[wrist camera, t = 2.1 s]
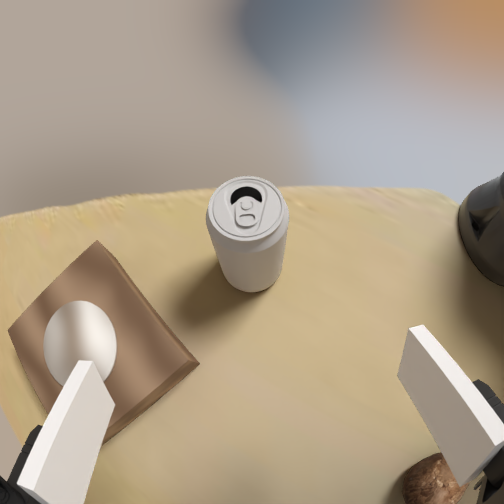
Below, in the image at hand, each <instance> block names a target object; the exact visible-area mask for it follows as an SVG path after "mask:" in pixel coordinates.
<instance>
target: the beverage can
mask: <svg viewBox="0 0 504 504" xmlns="http://www.w3.org/2000/svg"><path fill="white" fill-rule="evenodd" d="M288 223H289V210H288V207H287V204H286V202H285V200H284V198H283V196H282V194H281V192H280V191H279V189H278V188H277V187H276V186H275V185H274V184H272V183H271V182H269V181H267V180H265V179H262V178H259V177H254V176H241V177H236V178H233V179H230V180H228V181H226V182H225V183H223V184H222V185H220V186H219V187H218V188H217V189H216V190H215V192H214V193H213V195H212V196H211V198H210V201H209V206H208V209H207V213H206V224H207V228H208V231H209V234H210V237H211V240H212V243H213V246H214V249H215V251H216V254H217V257H218V260H219V263H220V266H221V269H222V271H223V274H224V276H225V278H226V280H227V281H228V282H229V283H230V284H231V285H232V286H233V287H235V288H237V289H239V290H241V291H245V292H258V291H262V290H264V289H266V288H268V287H270V286H271V285H272V284H273V283H274V282H275V281H276V280H277V279H278V277H279V275H280V273H281V269H282V263H283V257H284V250H285V243H286V237H287V230H288Z"/></svg>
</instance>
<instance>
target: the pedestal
mask: <svg viewBox="0 0 504 504" xmlns="http://www.w3.org/2000/svg"><path fill="white" fill-rule="evenodd" d="M8 333H9V335H10V338H11V340H12V343H13V345H14V347H15V350H16V352H17V354H18V357H19V359H20V361H21V363H22V365H23V368H24V370H25V372H26V374H27V376H28V378H29V380H30V382H31V384H32V386H33V388H34V390H35V392H36V393H37V395H38V397H39V399H40V401H41V403H42V404H43V406H44V408H45V410H46V411H47V413H48V415H49V413H50V411H51V409H52V407H53V406H54V404H55V402H56V400H57V398H58V396H59V394H60V392H61V391H62V389H63V387H64V385H65V383H66V382H67V380H68V378H69V376H70V375H71V373H72V371H73V369H74V368H75V366H76V364H77V362H78V361H79V360H83V361H93V362H94V364H95V366H96V368H97V370H98V372H99V374H100V377H101V379H102V381H103V383H104V384H105V386H106V388H107V390H108V392H109V394H110V396H111V398H112V400H113V402H114V403H115V407H114V410H113V412H112V415H111V418H110V421H109V424H108V427H107V430H106V432H105V435H104V438H103V441H102V444H101V446H102V445H103V444H104V443H106V442H107V441H108V440H109V439H111V438H112V437H113V436H114V435H116V434H117V433H118V432H120V431H121V430H122V429H123V428H124V427H126V426H127V425H128V424H129V423H131V422H132V421H133V420H134V419H136V418H137V417H138V416H139V415H140V414H142V413H143V412H144V411H145V410H147V409H148V408H149V407H150V406H151V405H153V404H154V403H155V402H156V401H157V400H159V399H160V398H161V397H162V396H163V395H164V394H166V393H167V392H168V391H169V390H170V389H171V388H173V387H174V386H175V385H176V384H177V383H178V382H180V381H181V380H182V379H183V378H184V377H185V376H187V375H188V374H189V373H190V372H191V371H192V370H193V369H195V368H196V367H197V366H198V365H199V364H200V363H199V362H198V361H197V360H196V359H195V357H194V356H193V355H192V354H191V353H190V352H189V351H188V349H187V348H186V347H185V346H184V345H183V344H182V343H181V341H180V340H179V339H178V338H177V337H176V335H175V334H174V333H173V332H172V331H171V329H170V328H169V327H168V326H167V325H166V323H165V322H164V321H163V320H162V319H161V317H160V316H159V315H158V314H157V312H156V311H155V310H154V309H153V307H152V306H151V305H150V303H149V302H148V301H147V300H146V298H145V297H144V296H143V294H142V293H141V292H140V290H139V289H138V288H137V287H136V285H135V284H134V283H133V281H132V280H131V278H130V277H129V276H128V274H127V273H126V272H125V270H124V269H123V267H122V266H121V265H120V263H119V262H118V260H117V259H116V258H115V257H114V256H113V255H112V254H111V253H110V252H109V251H108V250H107V249H106V248H105V247H104V246H103V245H102V244H101V243H100V242H99V241H98V240H96V241H95V242H94V243H93V244H92V245H91V246H90V247H89V248H88V249H86V250H85V251H84V252H83V253H82V254H81V255H80V256H79V257H78V258H77V259H76V260H75V261H74V262H72V263H71V264H70V265H69V266H68V267H67V268H66V269H65V270H64V271H63V272H62V273H61V274H60V275H59V276H58V277H57V278H56V279H55V280H54V281H53V282H52V283H51V284H50V285H49V286H48V287H47V288H46V289H45V290H44V291H43V292H42V293H41V294H40V295H39V296H38V297H37V298H36V299H35V300H34V302H33V303H32V304H31V305H30V306H29V307H28V308H27V309H26V310H25V311H24V312H23V313H22V315H21V316H20V317H19V318H18V319H17V320H16V321H15V322H14V323H13V325H12V326H11V327H10V328H9V329H8Z"/></svg>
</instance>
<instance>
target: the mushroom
mask: <svg viewBox="0 0 504 504" xmlns="http://www.w3.org/2000/svg"><path fill="white" fill-rule="evenodd" d="M468 485H469V482H468V483H466V484H464V485H463V486H461V487H459V485H458V483H457V481H456V479H455V477H454V475H453V473H452V471H451V469H450V467H449V466H448V464H447V462H446V460H445V458H444V456H443V454H442V453H436V454H434V455H431V456H429V457H427V458H425V459H423V460H422V461H420V462H419V463H417V464H416V465H414V466H413V467H412V468H411V469H410V471H409V472H408V474H407V476H406V477H405V479H404V484H403V490H402V493H403V496H404V499H405V502H406V504H456V503H457V502H458V501H459V500H460V499H461V498H462V496H463V494H464V492H465V490H466V489H467V487H468Z"/></svg>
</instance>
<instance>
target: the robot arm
mask: <svg viewBox="0 0 504 504" xmlns="http://www.w3.org/2000/svg"><path fill="white" fill-rule="evenodd" d="M459 227H460V232H461V236H462V239H463V242H464V245H465V247H466V249H467V252H468V254H469V255H470V257H471V259H472V260H473V262H474V263H475V265H476V266H477V267H478V269H479V270H480V271H481V272H482V273H483V274H484V275H485V276H486V277H487V278H488V279H490V280H491V281H493V282H494V283H496V284H499V285H502V286H504V172H503V173H502V175H501V176H500V177H497V178H495V179H493V180H491V181H489V182H487V183H485V184H482V185H480V186H478V187H476V188H475V189H474V190H472V191H471V192H470V194H469V195H468V196H467V197H466V198H465V199H464V201H463V202H462V204H461V207H460V211H459ZM397 376H398V378H399V380H400V381H401V383H402V385H403V386H404V388H405V390H406V391H407V393H408V395H409V396H410V398H411V400H412V401H413V403H414V405H415V406H416V408H417V410H418V412H419V413H420V415H421V417H422V418H423V420H424V422H425V424H426V425H427V427H428V429H429V431H430V433H431V434H432V436H433V438H434V440H435V442H436V443H437V445H438V447H439V449H440V451H441V452H442V454H443V456H444V458H445V460H446V462H447V464H448V466H449V467H450V469H451V471H452V473H453V475H454V477H455V479H456V481H457V483H458V485H459V487H461V486H463V485H464V484H466V483H468V482H470V481H472V480H473V479H475V478H476V477H477V476H478V475H479V474H480V473H481V472H482V471H484V473H485V475H484V477H483V478H482V479H481V480H480V481H479V482H478V483H477V484H476V485H475V487H474V489H475V490H476V489H477V488H478V487H479V486H480V485H481V488H480V489H479V490H480V492H479V496H478V500H477V503H476V504H504V404H503V403H501V401H500V399H499V398H498V397H496V394H495V393H494V392H493V391H492V389H491V388H490V387H489V386H488V385H487V384H485V383H483V382H482V381H480V380H479V379H478V380H476V381H474V382H471V381H470V379H469V378H468V377H467V376H466V374H465V373H464V372H463V371H462V369H461V368H460V367H459V366H458V365H457V363H456V362H455V361H454V360H453V359H452V357H451V356H450V355H449V354H448V353H447V351H446V350H445V349H444V348H443V347H442V346H441V344H440V343H439V342H438V341H437V340H436V339H435V338H434V336H433V335H432V334H431V333H430V332H429V331H428V330H427V328H426V327H425V326H424V325H419V326H415V327H411V328H408V333H407V337H406V342H405V346H404V350H403V355H402V359H401V363H400V367H399V370H398V374H397ZM114 407H115V403H114V402H113V400H112V398H111V396H110V394H109V392H108V390H107V388H106V386H105V384H104V383H103V381H102V379H101V377H100V374H99V372H98V370H97V368H96V366H95V364H94V362H93V361H83V360H79V361H78V362H77V364H76V366H75V368H74V369H73V371H72V373H71V375H70V376H69V378H68V380H67V382H66V383H65V385H64V387H63V389H62V391H61V392H60V394H59V396H58V398H57V400H56V402H55V404H54V406H53V407H52V409H51V411H50V413H49V415H48V417H47V419H46V421H45V423H44V425H43V426H41V425H38V426H37V427H36V428H35V429H33V430H32V431H31V432H30V434H29V436H28V438H27V440H26V442H25V445H24V446H23V448H22V450H21V451H22V452H21V453H20V454H19V456H18V459H17V461H16V463H15V465H14V467H13V470H12V472H11V474H10V476H9V479H8V481H7V482H6V481H5V480H4V479H3V478H2V477H1V476H0V504H84V500H85V497H86V493H87V490H88V486H89V483H90V479H91V476H92V473H93V470H94V466H95V463H96V460H97V457H98V454H99V451H100V447H101V444H102V441H103V438H104V435H105V432H106V430H107V427H108V424H109V421H110V418H111V415H112V412H113V410H114Z"/></svg>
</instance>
